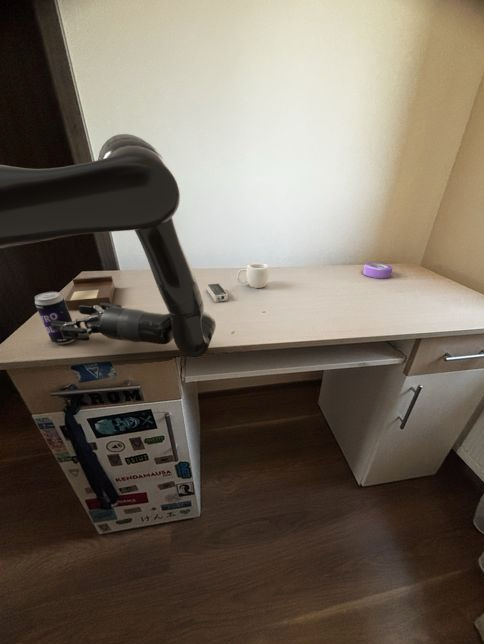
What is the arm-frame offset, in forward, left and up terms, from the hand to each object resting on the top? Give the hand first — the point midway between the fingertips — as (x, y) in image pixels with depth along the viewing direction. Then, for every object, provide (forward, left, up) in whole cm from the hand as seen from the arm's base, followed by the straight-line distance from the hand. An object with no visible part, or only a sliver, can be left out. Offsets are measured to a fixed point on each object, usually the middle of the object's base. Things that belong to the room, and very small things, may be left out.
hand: (66, 316), depth 67 cm
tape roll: (+113, +27, -7) cm, 117 cm away
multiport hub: (+40, +21, -7) cm, 46 cm away
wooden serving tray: (0, +29, -7) cm, 29 cm away
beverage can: (-3, +2, -7) cm, 8 cm away
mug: (+55, +27, -7) cm, 62 cm away
